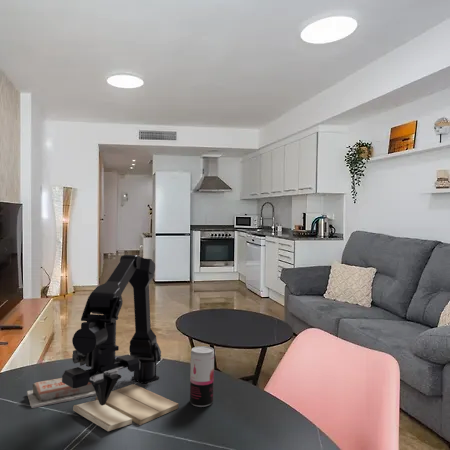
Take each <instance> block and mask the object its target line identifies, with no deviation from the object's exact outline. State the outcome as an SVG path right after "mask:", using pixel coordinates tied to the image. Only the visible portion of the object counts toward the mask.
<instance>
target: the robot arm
mask: <svg viewBox="0 0 450 450" xmlns="http://www.w3.org/2000/svg"><path fill="white" fill-rule="evenodd" d="M155 271H156V264H155V262H154V261H153V260H152V258H145V257H142V256H140V255H137V254H123V255H121V256H120V258H119V262H118V264H117V265H116V267H115V268H114V270H113V271H112V273H111V274H110V275H109V277H108V279H107V280H106V281H105V283H102V284H101V285H97V287H95V288H94V289H93V290H92V292H90V294H89V296H88V297H87V299H86V300H87V301H86V303H85V306H84V309H83V311H82V314H81V318H80V321H81V323H80V328H79V329H77V330H76V331H75V333H73V336H72V342H71V343H72V346H73V348H74V350H72V363H73V364H77V363H78V364H79V367H74V368H69V369H65V370H64V371H63V374H62V375H61V378H62V383H64V384H66V385H68V386H70V387H72V388H79V387H82V386H86V385H87V384H88V383H89V382H90V383H91V384H92V385H93V387H94V389H95V392H96V395H95V396H96V397H97V398H98V401H99V403H100V405H105V403H106V401H107V399H108V397H109V395H110V393H111V391H113V389H114V387H115V386H116V384H117V382H118V381H119V380H120V379H122V375H121V374H119V370H122V369H125V368H127V370H128V371H129V372H130V373H132V372H133V376H131V379H132V380H134V381H137V382H139V383H141V384H147V383H150V382H153V381H155V380H156V381H157V380H158V379H160V376H158V375H157V363H158V362H160V361H162V359H161V358H162V351H161V349H160V346H159V343H158V341H157V335H156V334H155V332H154V331H153V330H152V326H151V308H150V307H151V306H150V305H151V304H150V284H151V282H152V280H153V279H154V277H155ZM128 284H130V285H131V287H132V290H133V291H132V292H133V309H134V311H133V312H134V327H135V329H134V331H135V332H134V334H133V336H132V337H131V339H130V341H129V354H124V355H121V356H116V352H117V351H119V345H117V344H116V343H117V341H116V340H117V339H116V338H117V320H119V314H120V311H121V310H122V306H123V303H124V302H123V297H122V295H123V292H124V290H125V289H126V287H127V286H128ZM84 365H85V367H88V368H89V369H84V368H81V367H82V366H84Z"/></svg>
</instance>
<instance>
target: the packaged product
mask: <svg viewBox="0 0 450 450" xmlns="http://www.w3.org/2000/svg"><path fill="white" fill-rule="evenodd" d="M26 395H27V398H28V401H29V406H30V407H31V409H36V408H40V407H45V406H49V405H54V404H56V405H57V404H59V403H65V402H71V401H75V400H80V399H85V398H89V397H96V396H97V395H96V392H95V389H94V387H93V385H92V384H91V383H90V382H89V383H88V384H87V385H86V386H82V387H79V388H72V387H70V386H68V385H66V384H64V383H62V377H59V378H54V379H47V380H42V381H37V382H34V383H33V384H32V389H31V390H27V391H26Z"/></svg>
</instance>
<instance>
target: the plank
mask: <svg viewBox="0 0 450 450" xmlns="http://www.w3.org/2000/svg"><path fill="white" fill-rule="evenodd" d="M72 411H73V412H75V413H77V414H78V415H80V416H81V417H84V418H85V419H86V420H88V421H90V422H92V423H93V424H95V425H96V426H98V427H100V428H102V429H104V430H105V431H107V432H110V431H113V430H118V429H120V428H123V427H126V426H129V425H132V424H133V421H132V418H130V417H128V416H126V415H124V414H122V413H120V412H119V411H117V410H115V409H113V408H111V407H109V406H107V405H100V403H99V401H98V400H96V399H95V400H90V401H87V402H84V403H79V404H74V405H73V408H72Z"/></svg>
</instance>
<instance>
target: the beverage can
mask: <svg viewBox="0 0 450 450" xmlns="http://www.w3.org/2000/svg"><path fill="white" fill-rule="evenodd" d="M189 376H190V383H189V385H190V386H189V402H190V404H191V405H193V406H195V407H199V408H202V407H203V408H204V407H205V408H206V407H208V406H210V405H212V404H213V402H214V382H215V380H214V379H215V350H214V348H213V347H211V346H205V345H202V346H201V345H200V346H199V345H198V346H195V347H192V348H191V351H190V375H189Z"/></svg>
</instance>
